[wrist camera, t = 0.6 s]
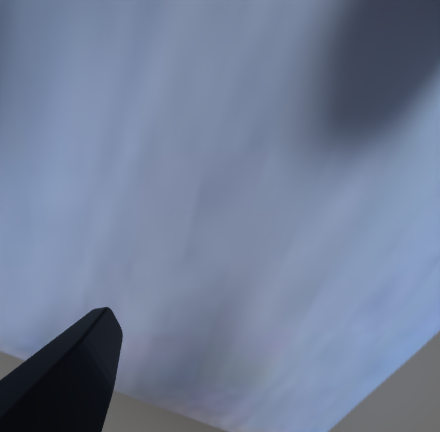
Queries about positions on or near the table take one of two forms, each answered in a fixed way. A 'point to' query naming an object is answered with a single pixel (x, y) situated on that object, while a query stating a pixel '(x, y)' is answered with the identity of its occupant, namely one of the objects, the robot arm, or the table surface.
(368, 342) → the table surface
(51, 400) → the robot arm
